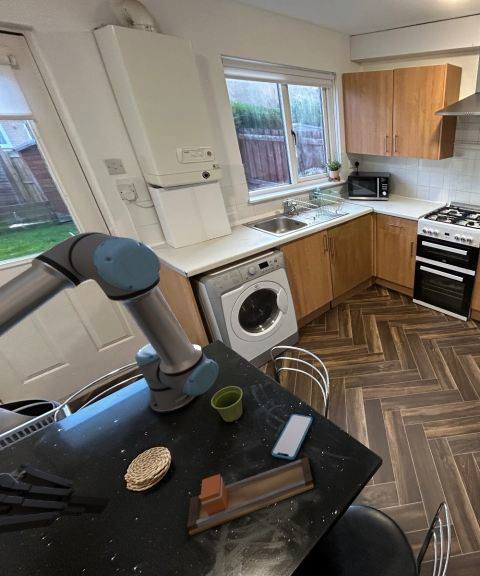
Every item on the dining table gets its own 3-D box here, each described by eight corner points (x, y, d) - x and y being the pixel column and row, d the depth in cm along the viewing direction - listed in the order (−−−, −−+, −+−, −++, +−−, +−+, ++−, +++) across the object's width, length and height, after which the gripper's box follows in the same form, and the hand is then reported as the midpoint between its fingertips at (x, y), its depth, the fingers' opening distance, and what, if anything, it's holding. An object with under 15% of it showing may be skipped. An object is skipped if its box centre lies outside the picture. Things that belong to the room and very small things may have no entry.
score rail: (194, 502, 82) (190, 496, 80) (308, 461, 92) (307, 455, 90) (190, 535, 75) (186, 529, 74) (313, 487, 85) (312, 481, 84)
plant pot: (236, 429, 101) (230, 411, 97) (211, 423, 102) (204, 405, 98) (253, 406, 109) (248, 388, 105) (229, 401, 110) (223, 384, 106)
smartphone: (313, 417, 104) (293, 458, 91) (313, 419, 105) (294, 461, 92) (292, 413, 105) (270, 453, 92) (292, 415, 106) (270, 456, 93)
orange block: (211, 499, 81) (201, 479, 77) (228, 492, 83) (220, 473, 78) (209, 519, 77) (199, 499, 73) (228, 512, 79) (219, 492, 74)
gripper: (-40, 472, 59) (105, 488, 72) (-101, 551, 48) (82, 552, 62) (-19, 445, 58) (124, 466, 71) (-76, 519, 47) (104, 527, 61)
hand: (104, 506), depth 66 cm, fingers closed
